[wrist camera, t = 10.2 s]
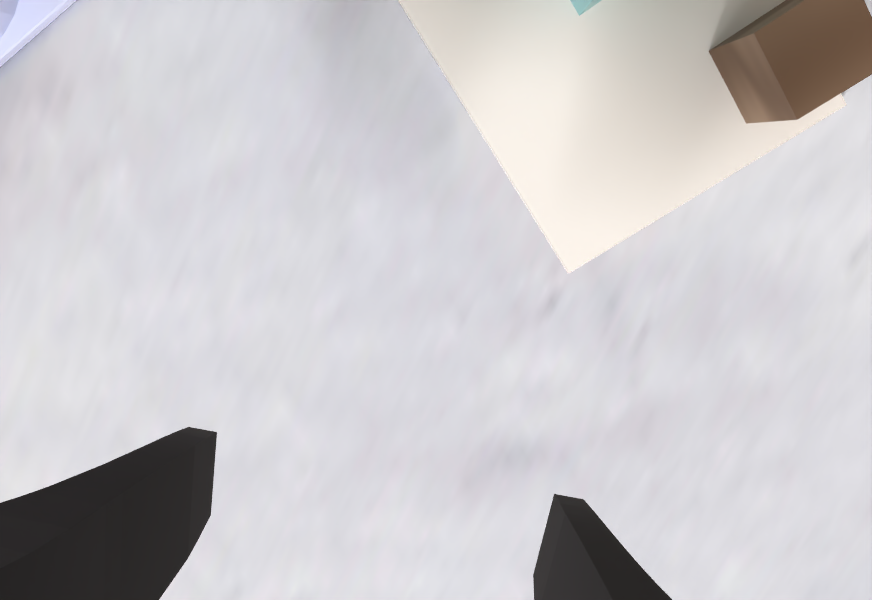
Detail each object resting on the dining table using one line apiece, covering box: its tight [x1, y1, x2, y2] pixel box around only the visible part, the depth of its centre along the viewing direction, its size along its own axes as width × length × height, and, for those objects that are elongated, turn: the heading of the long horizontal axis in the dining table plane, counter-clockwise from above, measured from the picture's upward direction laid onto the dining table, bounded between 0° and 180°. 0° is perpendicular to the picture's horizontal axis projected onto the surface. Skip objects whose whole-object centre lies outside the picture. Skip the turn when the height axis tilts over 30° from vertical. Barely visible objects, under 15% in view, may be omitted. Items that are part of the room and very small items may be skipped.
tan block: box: [709, 0, 872, 124], centre depth 17 cm, size 3×3×3 cm
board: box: [398, 0, 846, 274], centre depth 18 cm, size 13×10×1 cm
